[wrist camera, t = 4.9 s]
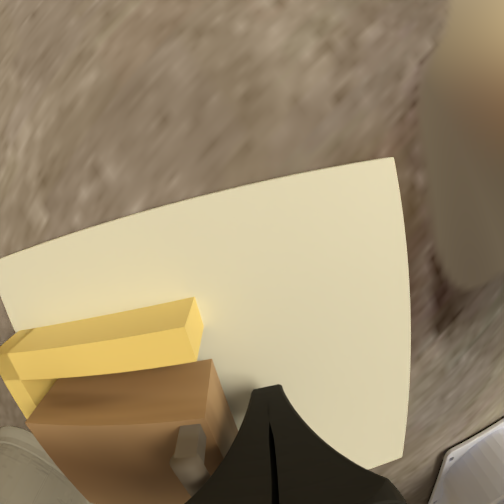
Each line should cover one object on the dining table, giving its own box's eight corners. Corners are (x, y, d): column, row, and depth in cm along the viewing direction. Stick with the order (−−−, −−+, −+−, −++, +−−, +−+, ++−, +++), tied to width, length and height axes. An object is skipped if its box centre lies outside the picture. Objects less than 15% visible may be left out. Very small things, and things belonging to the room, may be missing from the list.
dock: (396, 446, 15) (416, 485, 12) (128, 490, 15) (117, 528, 12) (382, 158, 11) (429, 154, 8) (2, 257, 11) (-45, 279, 8)
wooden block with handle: (244, 436, 13) (248, 541, 7) (111, 447, 13) (79, 531, 7) (213, 348, 12) (199, 465, 6) (65, 369, 12) (3, 453, 6)
